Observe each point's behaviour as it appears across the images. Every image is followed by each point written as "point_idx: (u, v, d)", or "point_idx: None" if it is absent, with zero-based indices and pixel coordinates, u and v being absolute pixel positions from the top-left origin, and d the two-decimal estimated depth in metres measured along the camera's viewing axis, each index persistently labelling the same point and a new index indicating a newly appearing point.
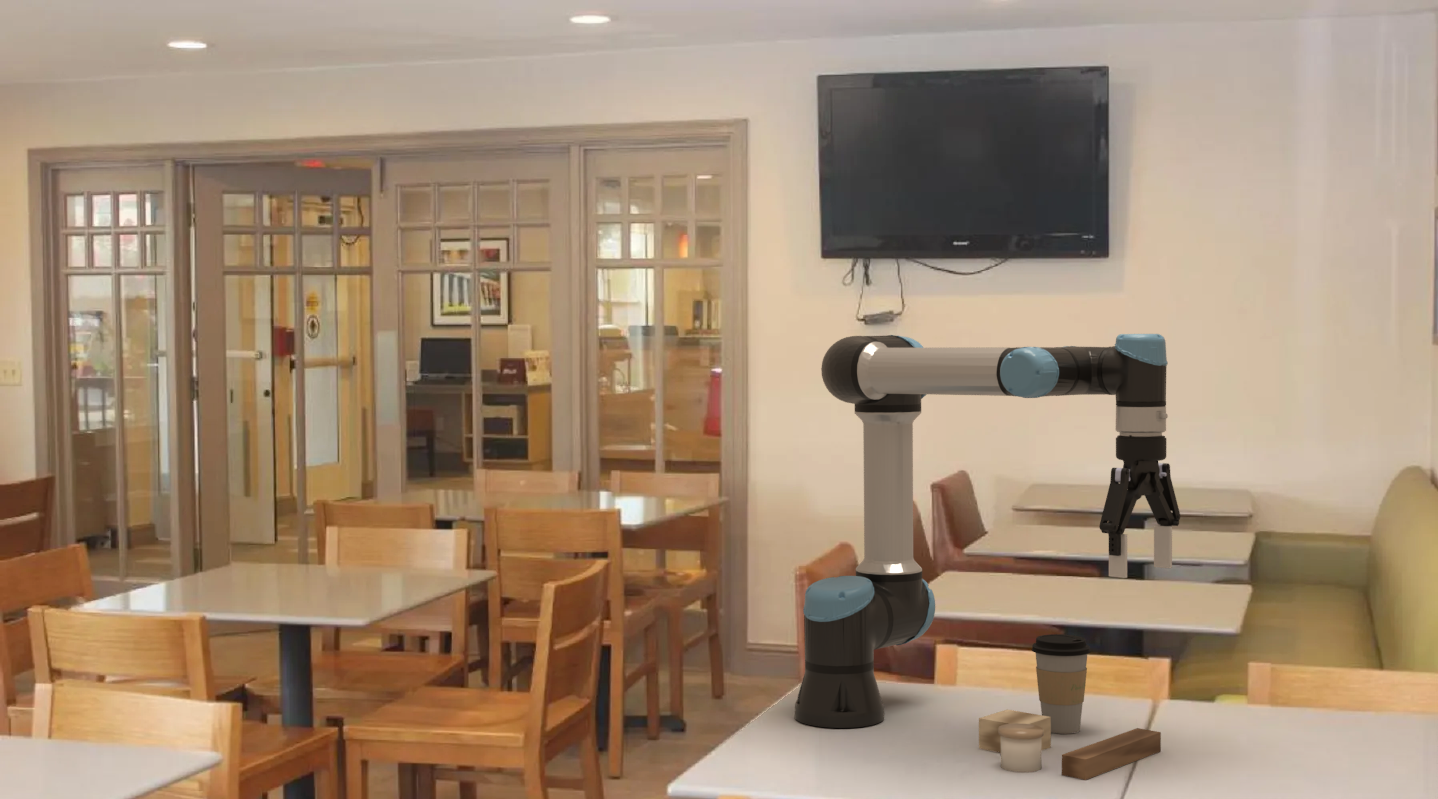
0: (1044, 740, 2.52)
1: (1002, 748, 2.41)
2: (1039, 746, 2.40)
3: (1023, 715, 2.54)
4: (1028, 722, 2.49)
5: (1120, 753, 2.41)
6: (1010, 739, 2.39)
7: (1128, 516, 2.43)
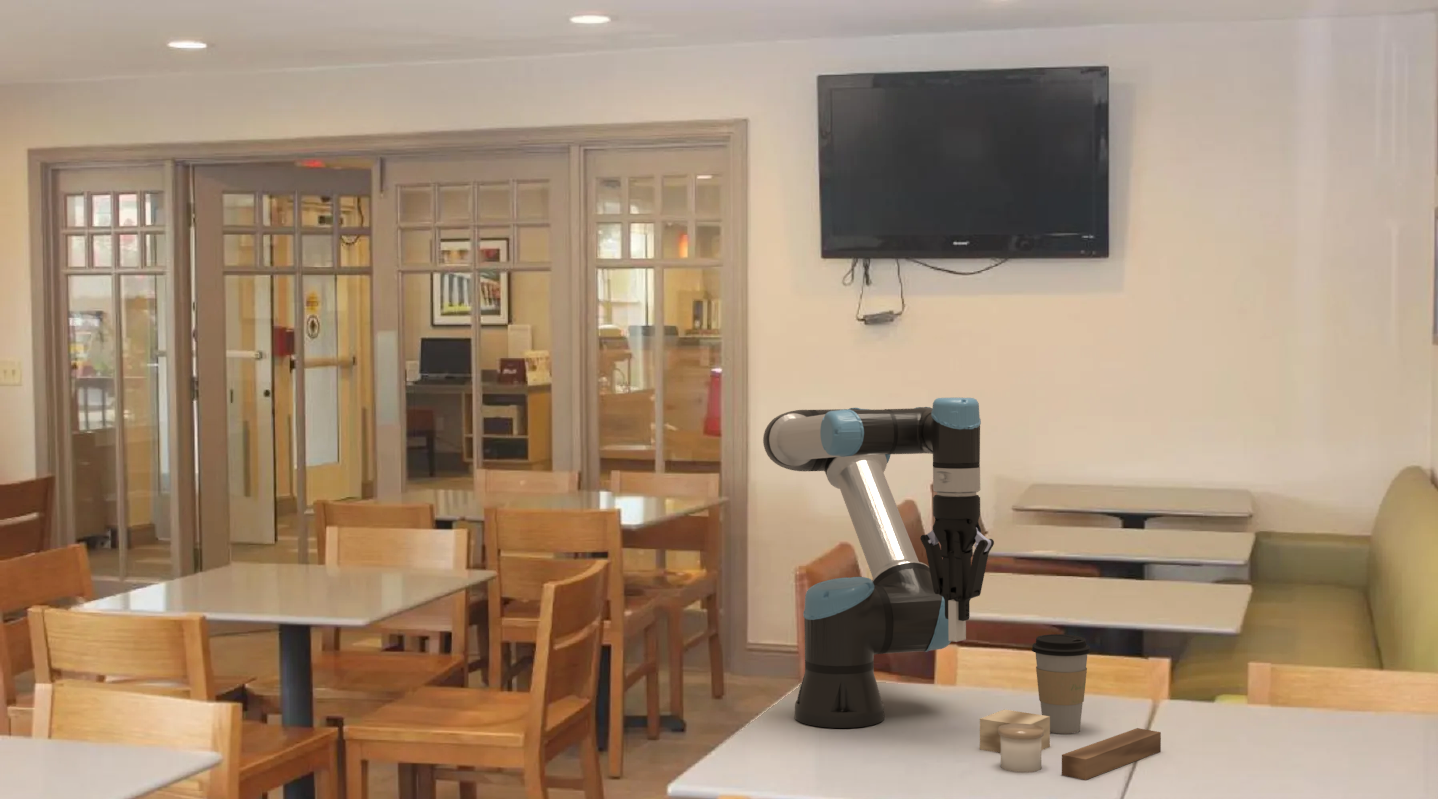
0: (1044, 739, 2.52)
1: (1002, 748, 2.41)
2: (1039, 746, 2.40)
3: (1022, 715, 2.54)
4: (1030, 722, 2.50)
5: (1120, 753, 2.41)
6: (1010, 739, 2.39)
7: (947, 578, 2.59)
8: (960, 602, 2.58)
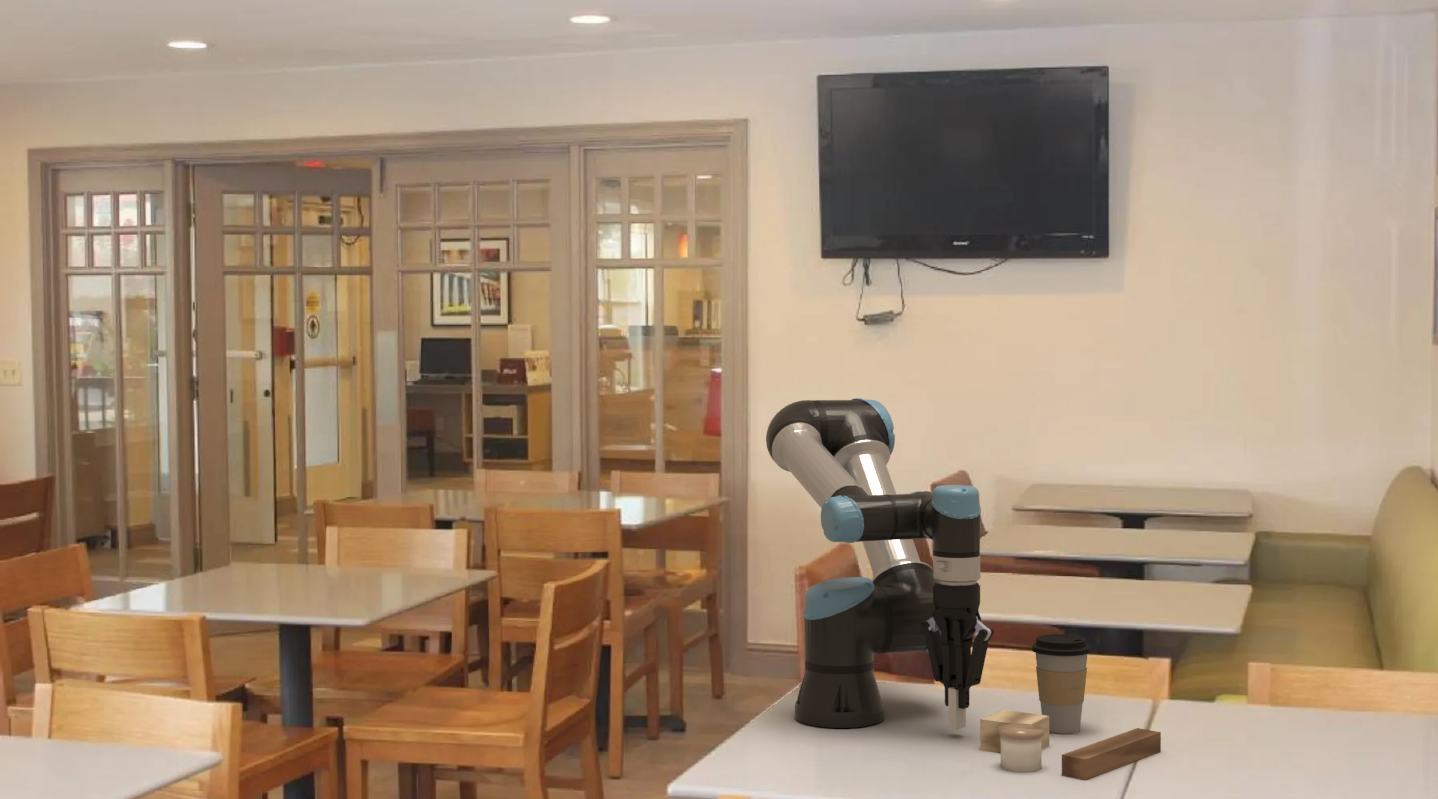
0: (1044, 739, 2.52)
1: (1002, 748, 2.41)
2: (1039, 746, 2.40)
3: (1022, 715, 2.54)
4: (1031, 722, 2.50)
5: (1120, 753, 2.41)
6: (1010, 739, 2.39)
7: (947, 666, 2.60)
8: (960, 690, 2.59)
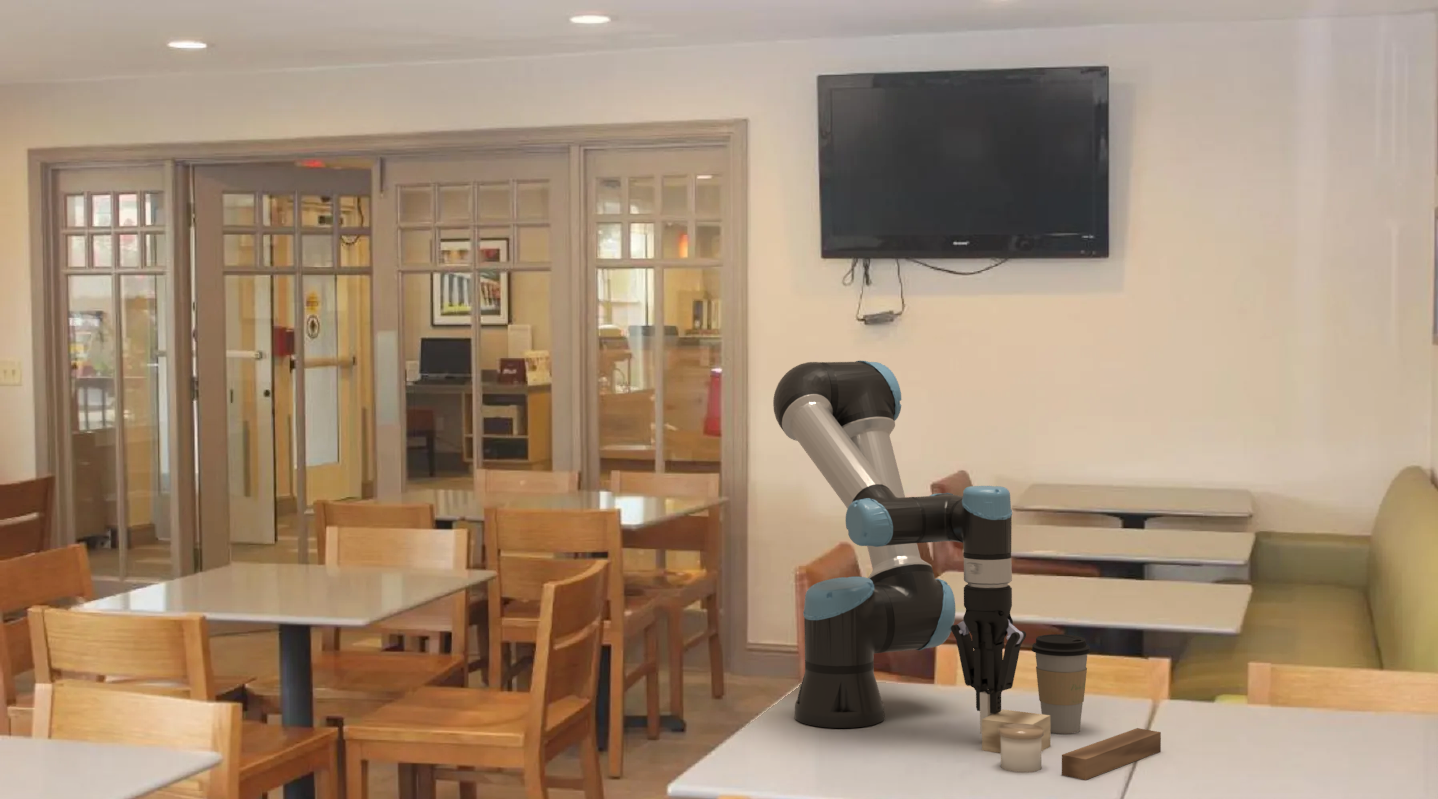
0: (1046, 738, 2.52)
1: (1002, 748, 2.41)
2: (1039, 746, 2.40)
3: (1023, 714, 2.54)
4: (1033, 721, 2.49)
5: (1120, 753, 2.41)
6: (1010, 739, 2.39)
7: (978, 670, 2.56)
8: (992, 694, 2.55)
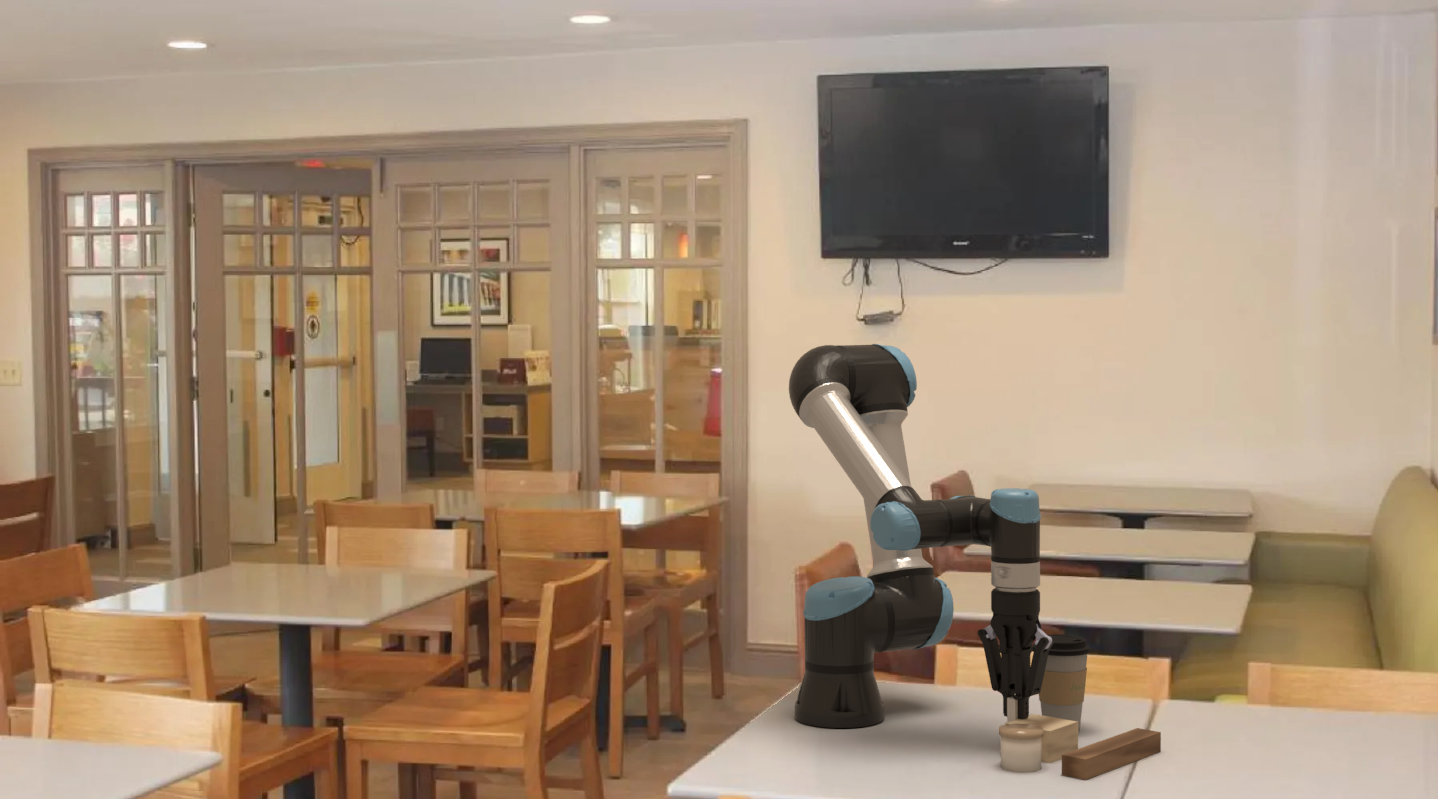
0: (1071, 745, 2.48)
1: (1002, 748, 2.41)
2: (1039, 746, 2.40)
3: (1050, 720, 2.50)
4: (1055, 727, 2.46)
5: (1120, 753, 2.41)
6: (1010, 739, 2.39)
7: (1005, 675, 2.52)
8: (1019, 700, 2.51)
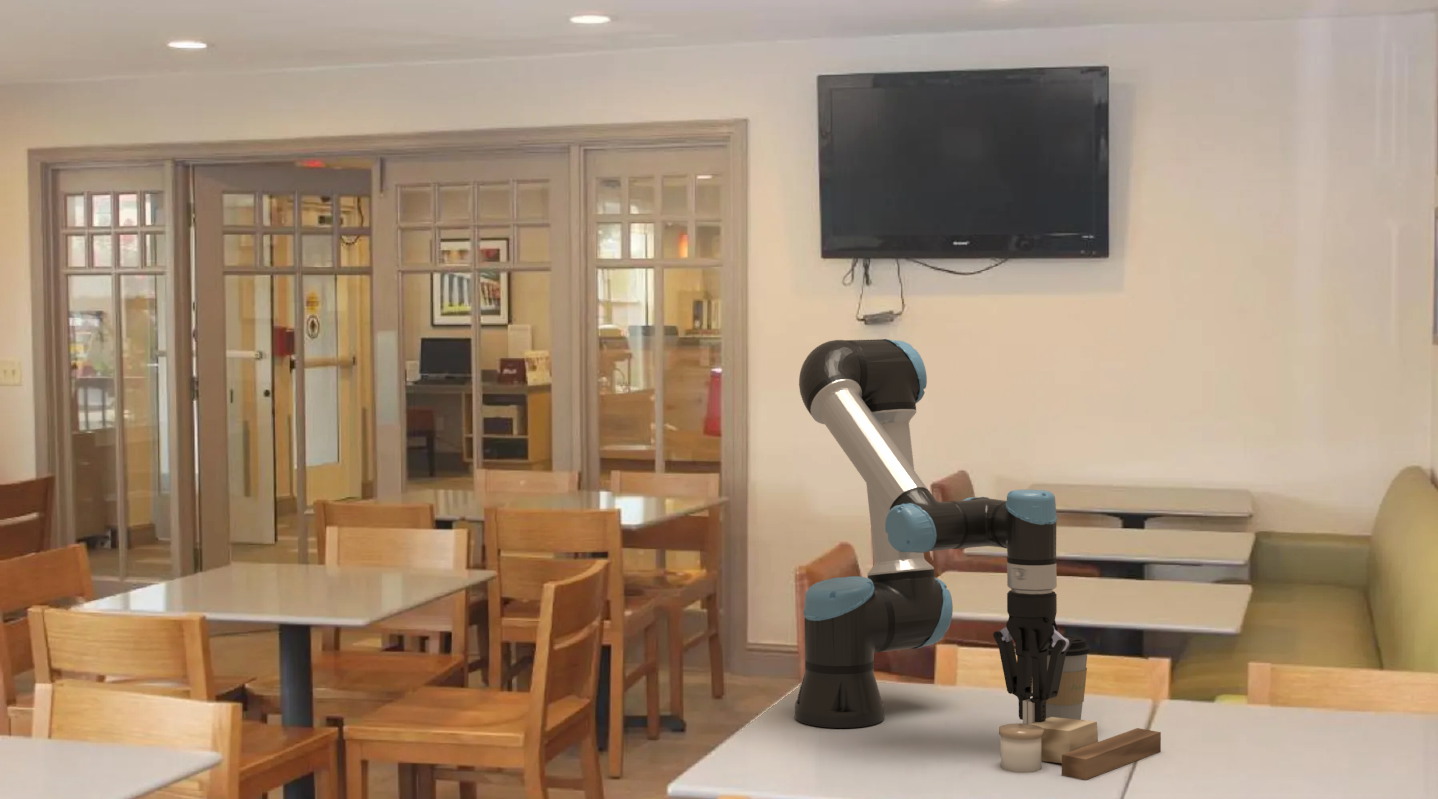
0: None
1: (1002, 748, 2.41)
2: (1039, 746, 2.40)
3: (1068, 721, 2.48)
4: (1074, 727, 2.43)
5: (1120, 753, 2.41)
6: (1010, 739, 2.39)
7: (1021, 678, 2.50)
8: (1036, 703, 2.49)
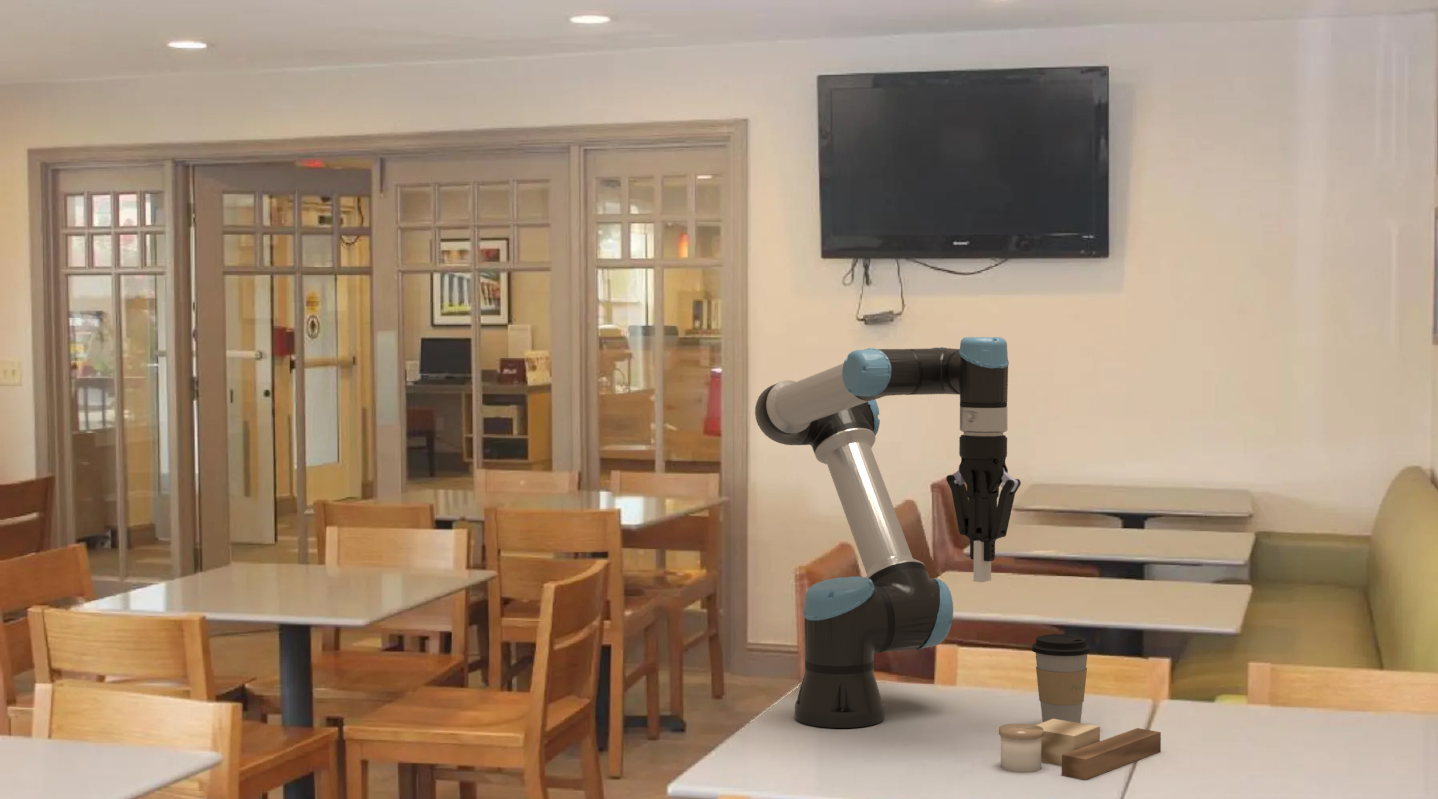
0: None
1: (1002, 748, 2.41)
2: (1039, 746, 2.40)
3: (1071, 725, 2.48)
4: (1079, 732, 2.43)
5: (1120, 753, 2.41)
6: (1010, 739, 2.39)
7: (972, 519, 2.58)
8: (986, 542, 2.57)
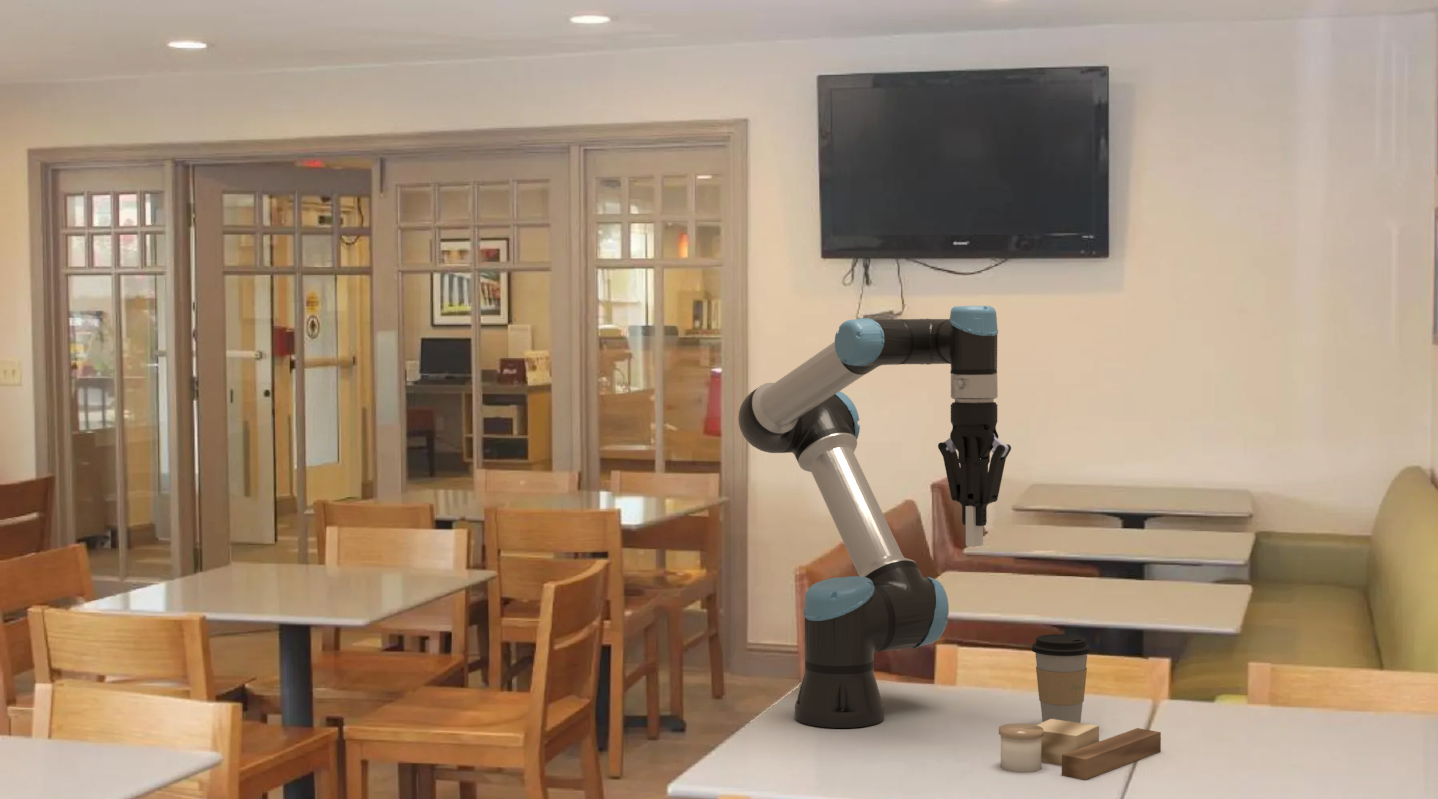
0: None
1: (1002, 748, 2.41)
2: (1039, 746, 2.40)
3: (1070, 724, 2.48)
4: (1080, 732, 2.43)
5: (1120, 753, 2.41)
6: (1010, 739, 2.39)
7: (964, 485, 2.63)
8: (977, 507, 2.62)
